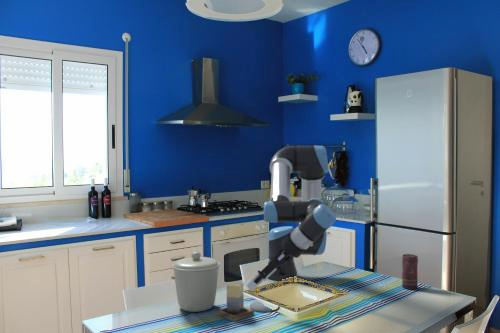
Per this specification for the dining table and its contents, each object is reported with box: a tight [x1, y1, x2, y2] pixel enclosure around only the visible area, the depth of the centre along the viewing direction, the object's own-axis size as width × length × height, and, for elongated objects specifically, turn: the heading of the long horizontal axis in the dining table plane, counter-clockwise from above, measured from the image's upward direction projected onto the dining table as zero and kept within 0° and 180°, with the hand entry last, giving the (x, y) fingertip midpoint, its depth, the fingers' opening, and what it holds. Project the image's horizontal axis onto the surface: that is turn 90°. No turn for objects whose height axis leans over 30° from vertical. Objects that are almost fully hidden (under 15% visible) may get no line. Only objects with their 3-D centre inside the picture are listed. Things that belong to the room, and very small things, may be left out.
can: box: [401, 253, 419, 291], centre depth 188 cm, size 6×6×14 cm
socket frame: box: [216, 306, 255, 322], centre depth 157 cm, size 9×9×2 cm
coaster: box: [249, 300, 275, 313], centre depth 165 cm, size 11×11×1 cm
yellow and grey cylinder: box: [226, 281, 245, 315], centre depth 157 cm, size 5×5×11 cm
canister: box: [171, 251, 221, 313], centre depth 165 cm, size 18×18×21 cm
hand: (256, 283), depth 153 cm, fingers open, 13 cm apart
